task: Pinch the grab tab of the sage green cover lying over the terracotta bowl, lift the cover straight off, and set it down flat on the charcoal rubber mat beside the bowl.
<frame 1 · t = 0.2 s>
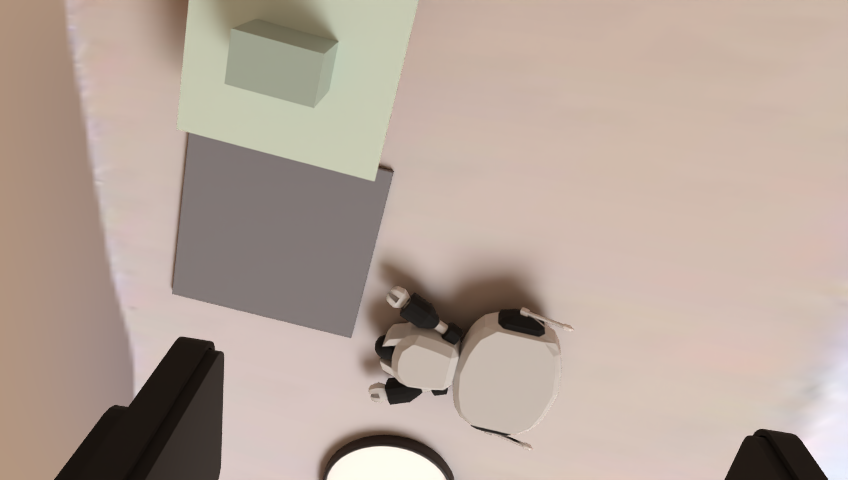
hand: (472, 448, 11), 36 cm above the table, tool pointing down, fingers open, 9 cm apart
mat: (278, 234, 50), on the table
robot toy: (466, 345, 54), on the table
cover: (295, 53, 39), point 5 cm above the table, touching bowl
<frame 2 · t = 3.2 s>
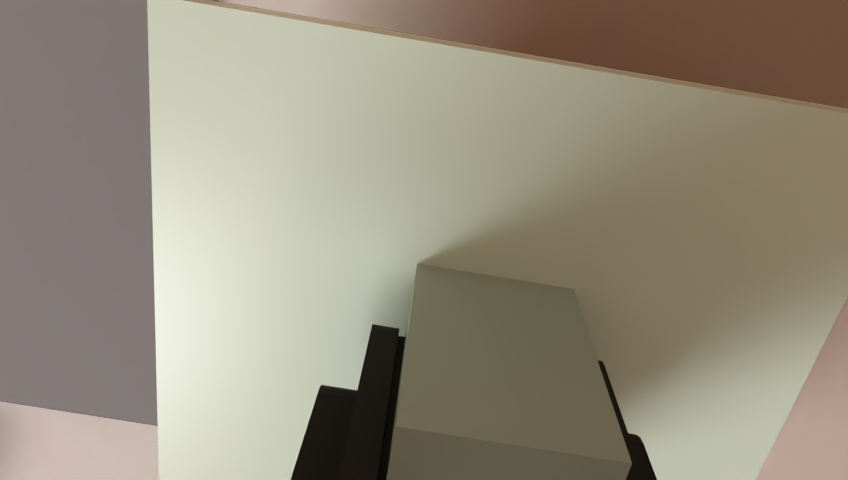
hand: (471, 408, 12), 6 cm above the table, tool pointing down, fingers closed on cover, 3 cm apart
cover: (470, 365, 14), point 5 cm above the table, touching bowl, gripper
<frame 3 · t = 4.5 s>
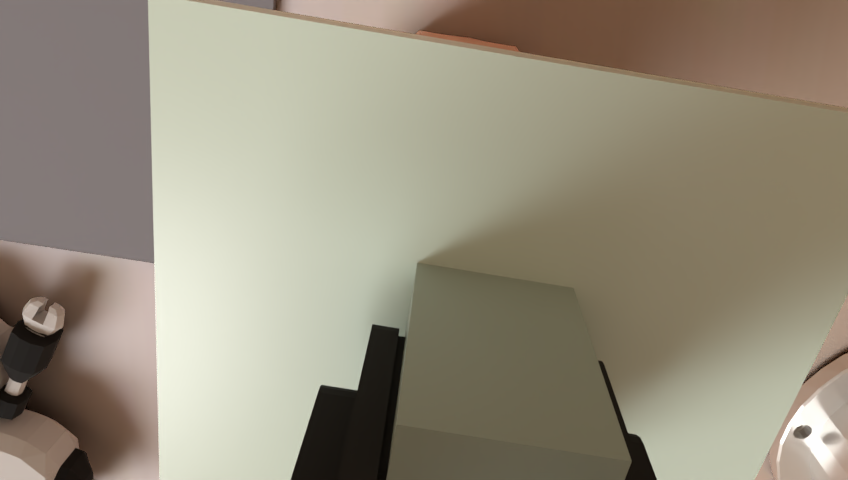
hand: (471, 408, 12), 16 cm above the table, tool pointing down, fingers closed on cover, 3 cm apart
mat: (87, 88, 26), on the table
cover: (470, 364, 14), point 15 cm above the table, touching gripper
bowl: (447, 146, 27), on the table
when the fingers open (4 cm above the table, at t = 9.7 s): cover drops 3 cm, resting on mat.
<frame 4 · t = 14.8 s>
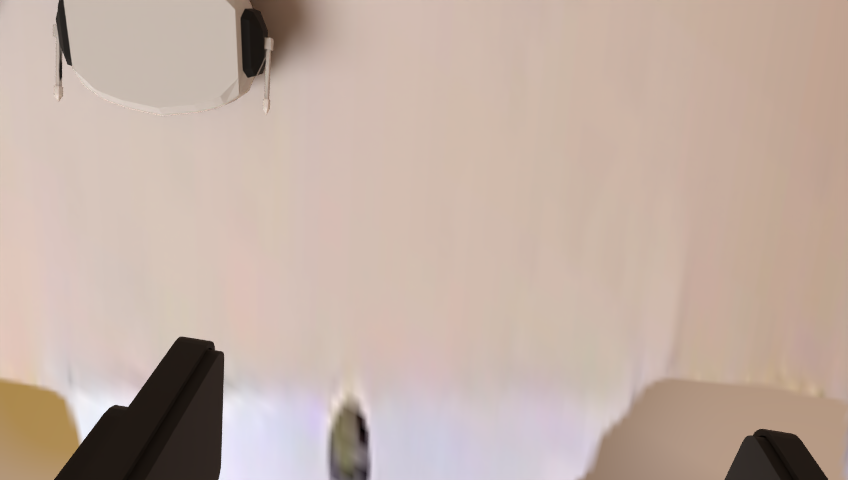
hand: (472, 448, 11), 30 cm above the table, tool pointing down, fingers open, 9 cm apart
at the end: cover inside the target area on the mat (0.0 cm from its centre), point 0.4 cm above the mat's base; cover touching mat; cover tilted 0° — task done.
